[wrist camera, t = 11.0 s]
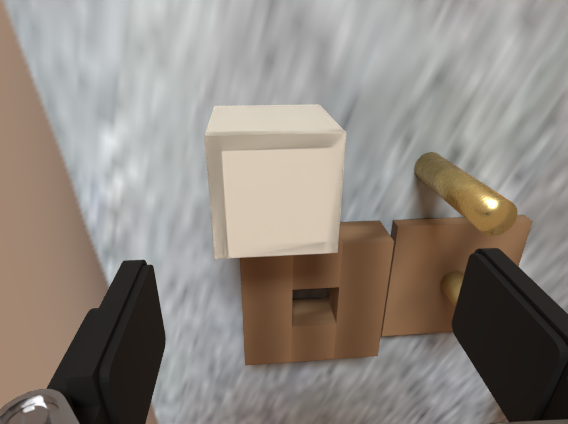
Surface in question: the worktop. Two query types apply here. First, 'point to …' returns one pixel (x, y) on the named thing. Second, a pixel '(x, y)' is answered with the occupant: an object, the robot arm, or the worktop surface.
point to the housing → (274, 180)
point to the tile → (436, 269)
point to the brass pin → (467, 194)
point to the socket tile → (318, 299)
